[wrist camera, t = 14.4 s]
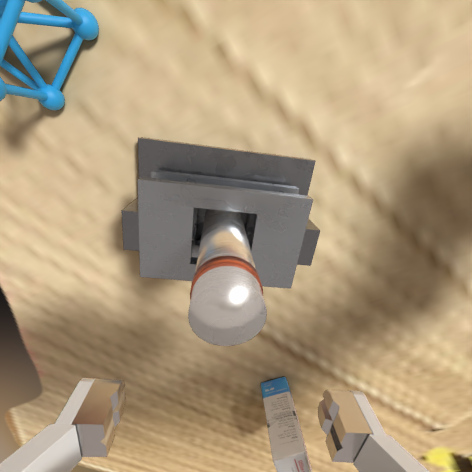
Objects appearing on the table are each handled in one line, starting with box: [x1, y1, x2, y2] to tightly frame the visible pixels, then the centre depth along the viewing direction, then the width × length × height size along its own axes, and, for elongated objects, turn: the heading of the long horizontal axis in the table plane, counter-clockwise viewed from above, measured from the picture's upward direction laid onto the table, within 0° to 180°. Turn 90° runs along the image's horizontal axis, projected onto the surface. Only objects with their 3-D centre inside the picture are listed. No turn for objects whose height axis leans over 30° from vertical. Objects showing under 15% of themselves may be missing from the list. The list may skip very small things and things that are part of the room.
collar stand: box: [122, 137, 320, 288], centre depth 28 cm, size 20×16×8 cm
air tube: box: [188, 209, 267, 346], centre depth 23 cm, size 5×5×18 cm
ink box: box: [261, 377, 312, 472], centre depth 40 cm, size 8×5×15 cm, turn 16°
